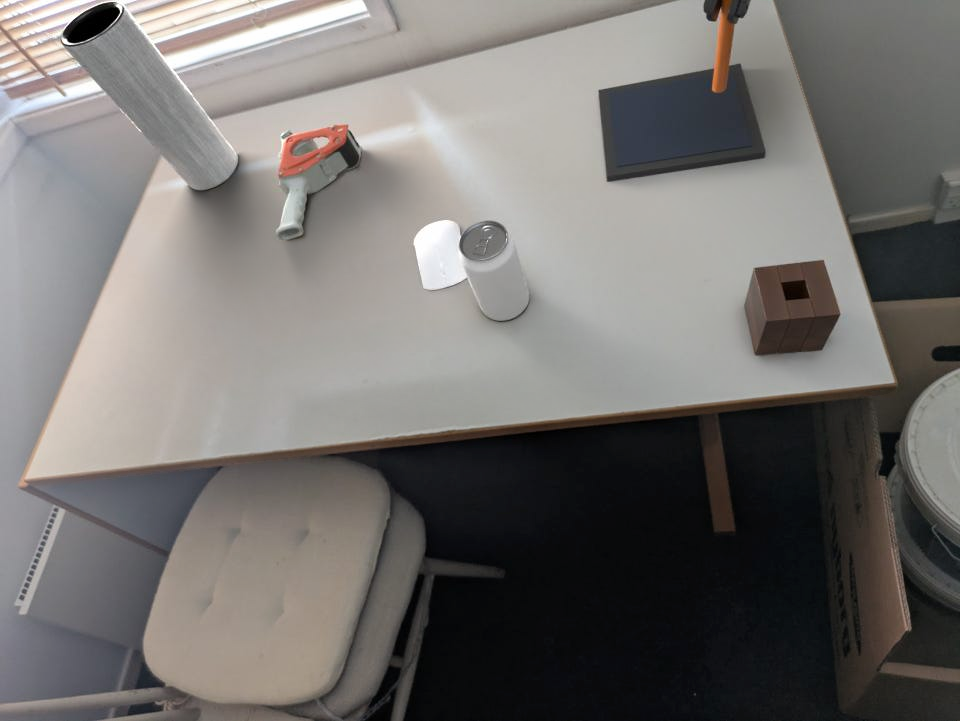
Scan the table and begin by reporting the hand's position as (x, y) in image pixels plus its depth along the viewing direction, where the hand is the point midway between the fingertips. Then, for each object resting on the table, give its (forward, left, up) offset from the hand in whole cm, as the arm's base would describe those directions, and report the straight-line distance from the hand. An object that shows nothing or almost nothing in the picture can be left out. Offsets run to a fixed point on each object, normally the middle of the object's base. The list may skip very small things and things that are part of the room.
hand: (721, 20), depth 62 cm
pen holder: (-4, +27, -19) cm, 33 cm away
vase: (+80, -16, -19) cm, 84 cm away
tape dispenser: (+59, -8, -19) cm, 63 cm away
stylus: (-1, -2, -10) cm, 10 cm away
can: (+27, +19, -19) cm, 38 cm away
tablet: (+3, -8, -19) cm, 21 cm away
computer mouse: (+36, +10, -19) cm, 42 cm away
